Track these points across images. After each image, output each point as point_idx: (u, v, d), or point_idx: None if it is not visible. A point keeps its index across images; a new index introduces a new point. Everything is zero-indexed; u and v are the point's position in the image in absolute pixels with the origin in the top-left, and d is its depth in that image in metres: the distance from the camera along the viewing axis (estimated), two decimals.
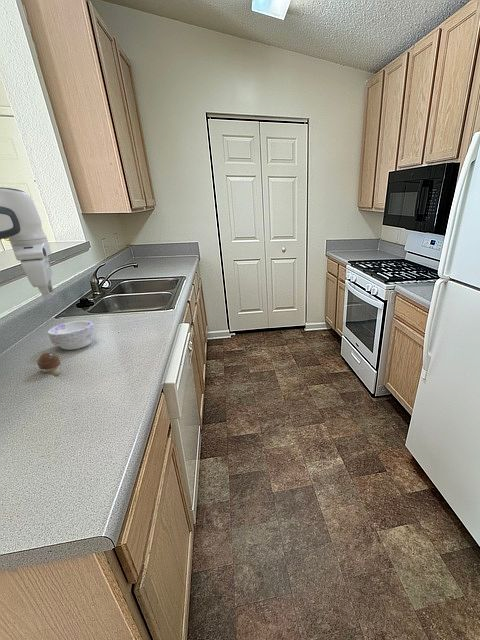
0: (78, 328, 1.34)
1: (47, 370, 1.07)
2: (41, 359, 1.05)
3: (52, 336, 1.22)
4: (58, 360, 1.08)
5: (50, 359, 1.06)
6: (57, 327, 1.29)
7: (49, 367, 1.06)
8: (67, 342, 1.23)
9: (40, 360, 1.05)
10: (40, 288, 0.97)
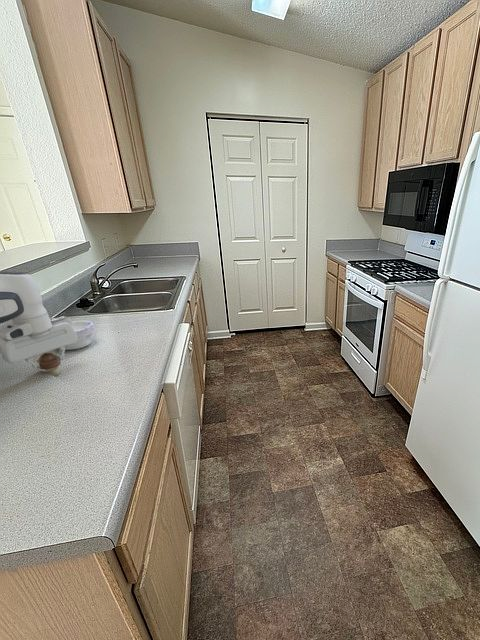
0: (78, 328, 1.34)
1: (47, 370, 1.07)
2: (41, 359, 1.05)
3: None
4: (58, 360, 1.08)
5: (50, 359, 1.06)
6: None
7: (49, 367, 1.06)
8: None
9: (40, 360, 1.05)
10: (25, 360, 1.03)
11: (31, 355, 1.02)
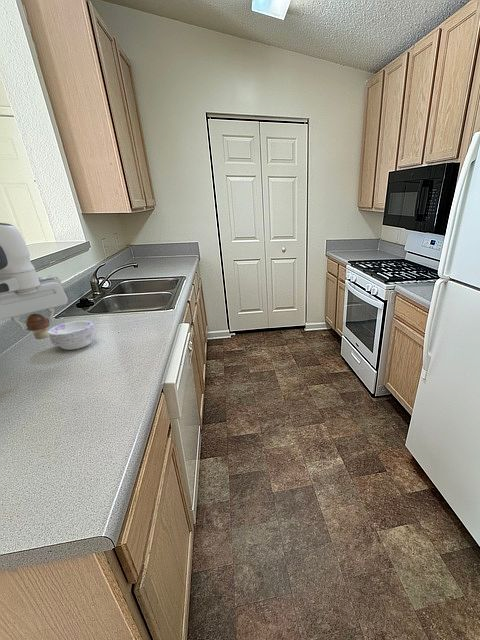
0: (78, 328, 1.34)
1: (35, 332, 1.03)
2: (29, 319, 1.00)
3: (52, 336, 1.22)
4: (47, 322, 1.03)
5: (38, 320, 1.01)
6: (57, 327, 1.29)
7: (37, 328, 1.01)
8: (67, 342, 1.23)
9: (28, 320, 1.01)
10: (11, 319, 0.98)
11: (18, 313, 0.97)
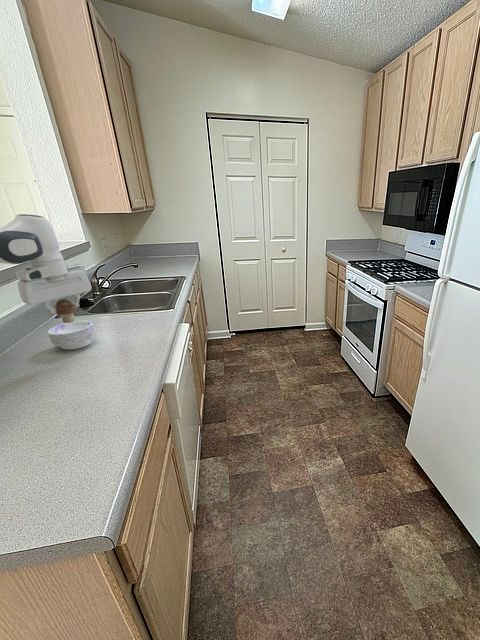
0: (78, 328, 1.34)
1: (63, 316, 1.12)
2: (57, 304, 1.10)
3: (52, 336, 1.22)
4: (73, 307, 1.13)
5: (66, 305, 1.11)
6: (57, 327, 1.29)
7: (65, 312, 1.10)
8: (67, 342, 1.23)
9: (57, 305, 1.10)
10: None
11: (48, 299, 1.06)
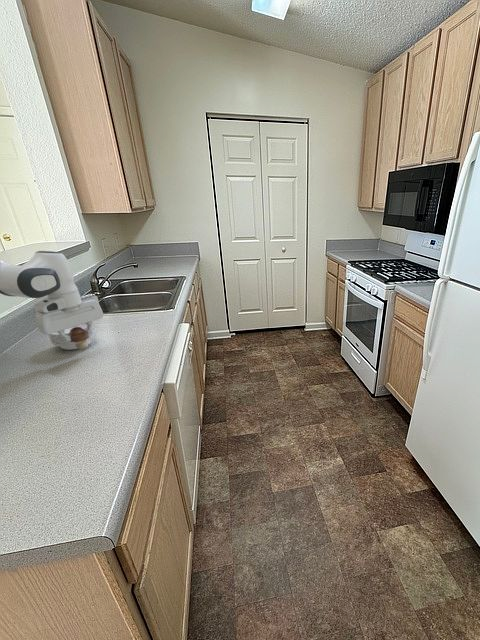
0: None
1: (77, 343, 1.18)
2: (72, 332, 1.16)
3: (52, 336, 1.22)
4: (87, 334, 1.19)
5: (80, 332, 1.17)
6: None
7: (79, 340, 1.17)
8: (67, 342, 1.23)
9: (71, 333, 1.16)
10: (58, 332, 1.13)
11: (64, 328, 1.13)
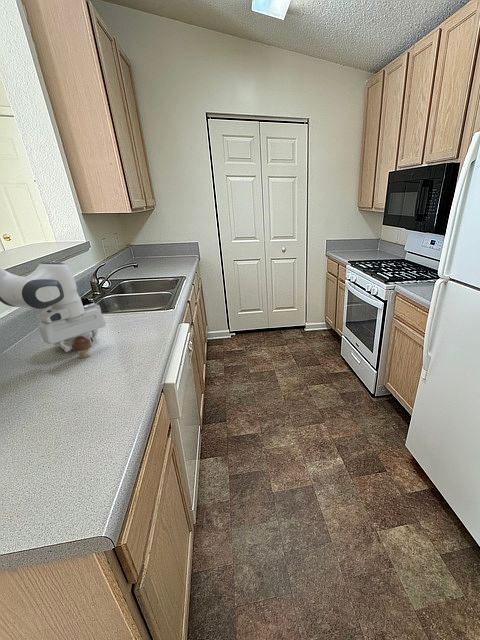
0: None
1: (80, 352, 1.20)
2: (75, 341, 1.18)
3: None
4: (90, 343, 1.21)
5: (83, 342, 1.19)
6: None
7: (82, 349, 1.18)
8: (67, 342, 1.23)
9: (74, 342, 1.18)
10: (58, 342, 1.14)
11: (67, 337, 1.14)
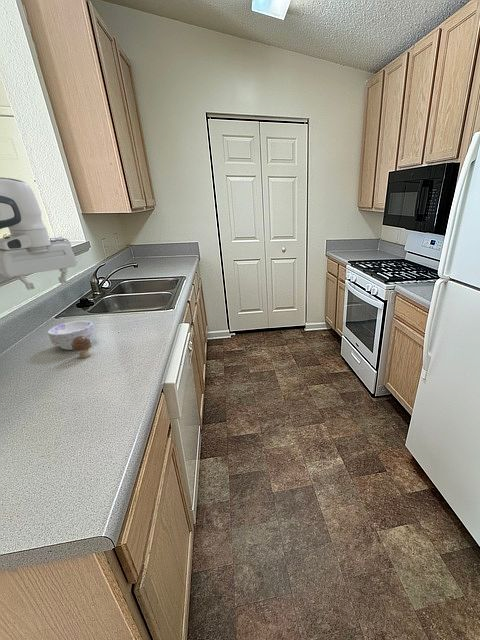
0: (78, 328, 1.34)
1: (80, 352, 1.20)
2: (75, 341, 1.18)
3: (52, 336, 1.22)
4: (90, 343, 1.21)
5: (83, 342, 1.19)
6: (57, 327, 1.29)
7: (82, 349, 1.18)
8: (67, 342, 1.23)
9: (74, 342, 1.18)
10: (18, 278, 0.99)
11: (29, 271, 0.99)
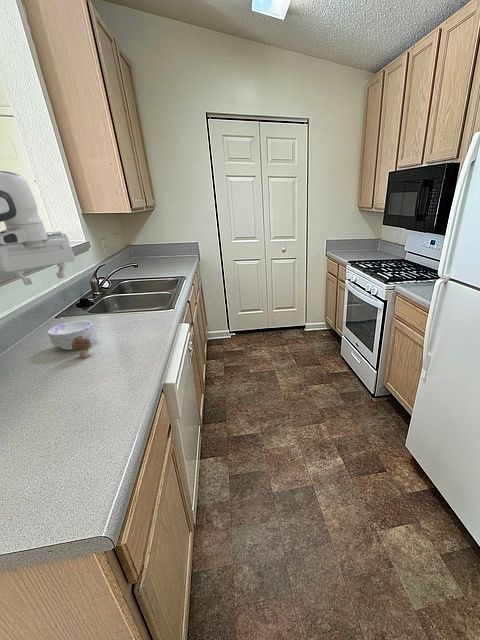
0: (78, 328, 1.34)
1: (80, 352, 1.20)
2: (75, 341, 1.18)
3: (52, 336, 1.22)
4: (90, 343, 1.21)
5: (83, 342, 1.19)
6: (57, 327, 1.29)
7: (82, 349, 1.18)
8: (67, 342, 1.23)
9: (74, 342, 1.18)
10: (15, 273, 0.98)
11: (26, 266, 0.98)
